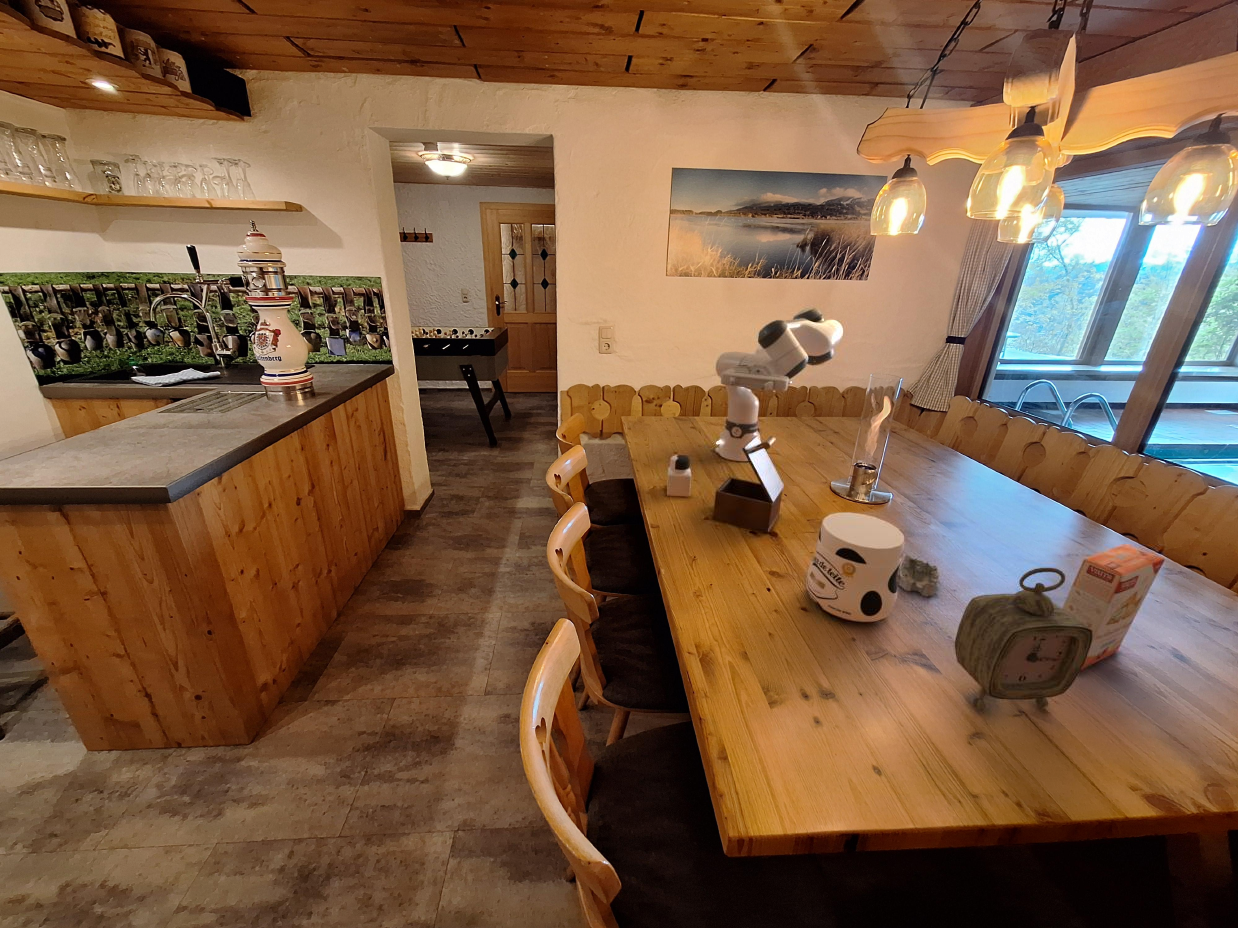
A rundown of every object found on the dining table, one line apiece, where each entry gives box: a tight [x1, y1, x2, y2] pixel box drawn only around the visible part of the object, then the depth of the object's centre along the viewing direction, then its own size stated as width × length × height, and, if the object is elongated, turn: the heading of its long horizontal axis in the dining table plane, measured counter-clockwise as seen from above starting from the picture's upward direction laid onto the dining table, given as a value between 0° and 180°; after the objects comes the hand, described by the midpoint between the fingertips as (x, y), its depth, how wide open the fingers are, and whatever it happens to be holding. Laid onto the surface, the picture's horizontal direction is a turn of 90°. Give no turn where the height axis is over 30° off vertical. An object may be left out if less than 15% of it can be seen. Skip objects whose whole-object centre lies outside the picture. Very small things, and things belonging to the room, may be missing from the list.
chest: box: [712, 476, 784, 534], centre depth 139 cm, size 16×13×9 cm
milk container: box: [805, 512, 905, 624], centre depth 101 cm, size 17×17×18 cm
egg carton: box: [898, 554, 940, 597], centre depth 112 cm, size 11×8×4 cm
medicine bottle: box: [666, 454, 692, 498], centre depth 155 cm, size 7×7×12 cm
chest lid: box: [742, 435, 785, 503], centre depth 132 cm, size 16×13×6 cm
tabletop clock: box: [954, 567, 1092, 710], centre depth 78 cm, size 14×9×25 cm, turn 93°
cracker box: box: [1061, 543, 1166, 671], centre depth 88 cm, size 14×6×21 cm, turn 114°
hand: (747, 385), depth 144 cm, fingers open, 8 cm apart
